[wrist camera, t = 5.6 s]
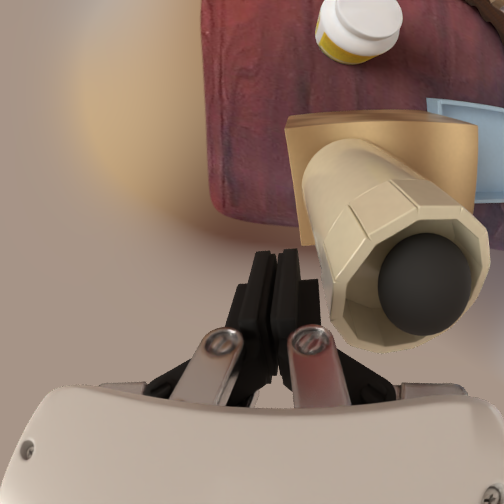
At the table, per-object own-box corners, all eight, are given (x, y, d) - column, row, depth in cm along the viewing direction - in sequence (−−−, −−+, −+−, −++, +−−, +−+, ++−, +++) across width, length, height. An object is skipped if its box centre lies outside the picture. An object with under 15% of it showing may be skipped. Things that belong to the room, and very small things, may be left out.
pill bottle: (371, 71, 23) (412, 62, 13) (311, 59, 23) (320, 38, 14) (376, 20, 19) (415, -11, 10) (316, 7, 20) (326, -36, 10)
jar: (283, 207, 19) (294, 329, 10) (332, 118, 16) (412, 164, 7) (363, 246, 21) (413, 362, 11) (412, 170, 17) (511, 256, 8)
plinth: (300, 193, 32) (301, 246, 22) (288, 115, 27) (284, 128, 17) (421, 184, 28) (470, 231, 18) (419, 110, 24) (478, 125, 14)
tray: (428, 195, 29) (437, 205, 26) (426, 97, 23) (437, 99, 20) (539, 194, 24) (550, 202, 21) (544, 118, 18) (557, 122, 15)
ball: (343, 284, 11) (391, 358, 8) (394, 200, 10) (468, 258, 6) (399, 298, 13) (442, 356, 9) (443, 232, 11) (500, 282, 8)
